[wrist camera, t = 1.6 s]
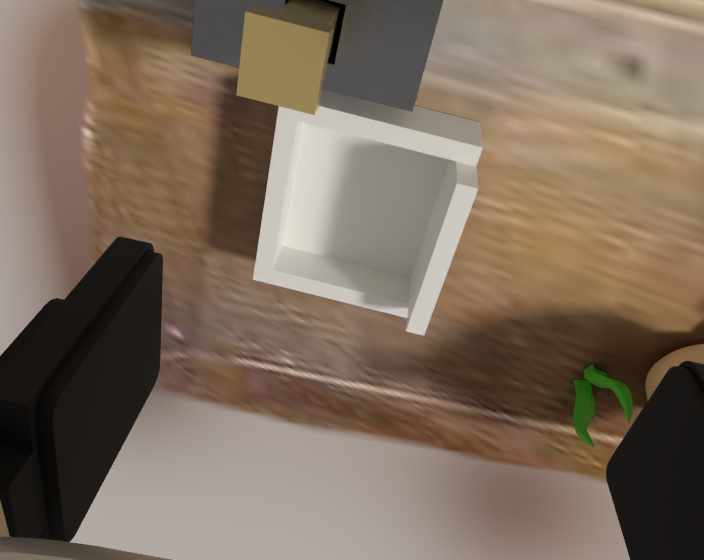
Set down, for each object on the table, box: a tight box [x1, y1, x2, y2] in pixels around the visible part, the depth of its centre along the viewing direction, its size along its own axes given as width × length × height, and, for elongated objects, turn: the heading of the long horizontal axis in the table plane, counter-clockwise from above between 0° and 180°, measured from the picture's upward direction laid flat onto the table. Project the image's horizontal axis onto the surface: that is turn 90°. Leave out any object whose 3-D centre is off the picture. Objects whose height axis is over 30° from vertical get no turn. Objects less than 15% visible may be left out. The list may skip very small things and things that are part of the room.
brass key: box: [236, 0, 341, 115], centre depth 25 cm, size 3×3×7 cm
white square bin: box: [253, 89, 483, 336], centre depth 33 cm, size 11×10×6 cm
